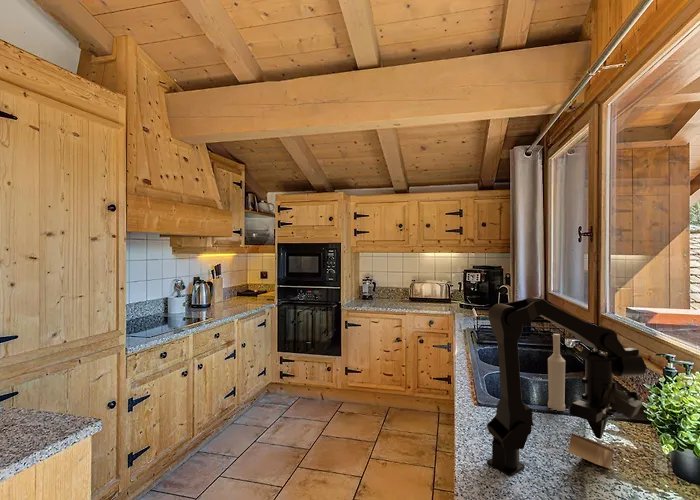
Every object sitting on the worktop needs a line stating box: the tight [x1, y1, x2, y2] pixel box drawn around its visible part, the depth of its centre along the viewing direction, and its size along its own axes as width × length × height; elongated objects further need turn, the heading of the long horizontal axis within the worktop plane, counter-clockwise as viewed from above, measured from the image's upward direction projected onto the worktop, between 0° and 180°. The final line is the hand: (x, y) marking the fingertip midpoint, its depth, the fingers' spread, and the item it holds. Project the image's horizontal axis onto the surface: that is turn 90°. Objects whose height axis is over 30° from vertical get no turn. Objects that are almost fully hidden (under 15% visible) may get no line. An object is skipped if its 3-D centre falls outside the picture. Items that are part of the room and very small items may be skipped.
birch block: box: [567, 433, 615, 470], centre depth 91 cm, size 4×6×9 cm
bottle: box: [547, 333, 566, 412], centre depth 124 cm, size 5×5×25 cm
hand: (598, 437), depth 93 cm, fingers closed
